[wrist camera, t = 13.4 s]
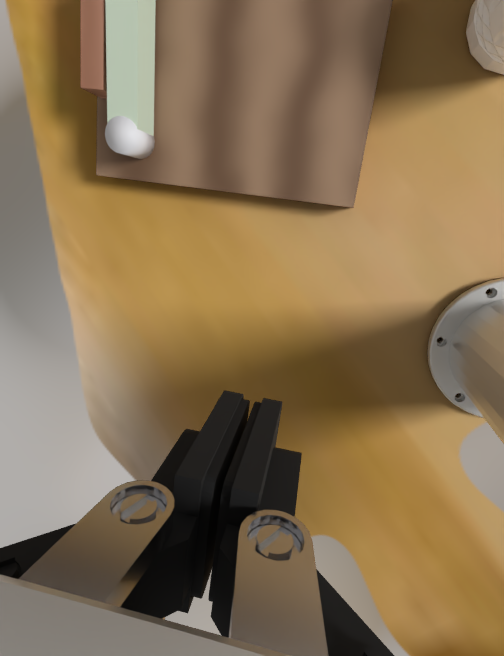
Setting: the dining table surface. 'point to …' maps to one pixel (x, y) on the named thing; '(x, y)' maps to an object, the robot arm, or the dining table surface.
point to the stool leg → (130, 76)
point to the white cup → (487, 34)
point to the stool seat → (251, 95)
